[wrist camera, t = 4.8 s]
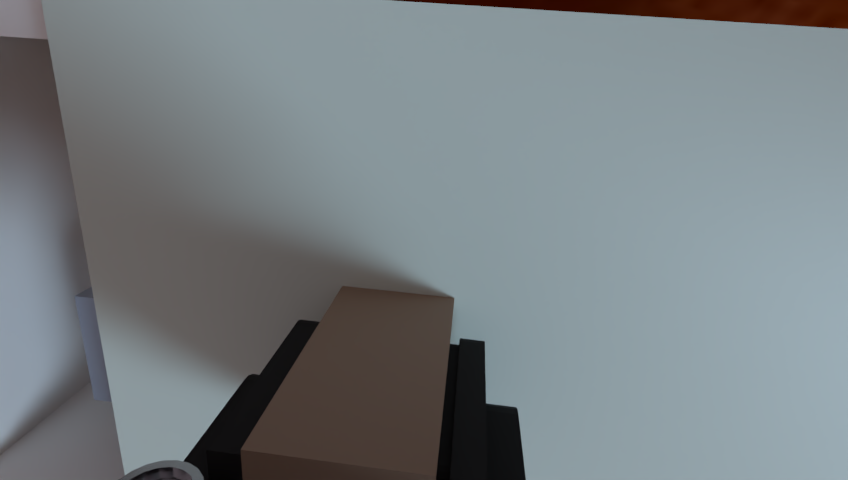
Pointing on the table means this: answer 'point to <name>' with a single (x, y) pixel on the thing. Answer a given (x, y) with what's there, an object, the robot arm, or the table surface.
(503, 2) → the table surface
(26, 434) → the storage box
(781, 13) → the table surface
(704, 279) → the lid
